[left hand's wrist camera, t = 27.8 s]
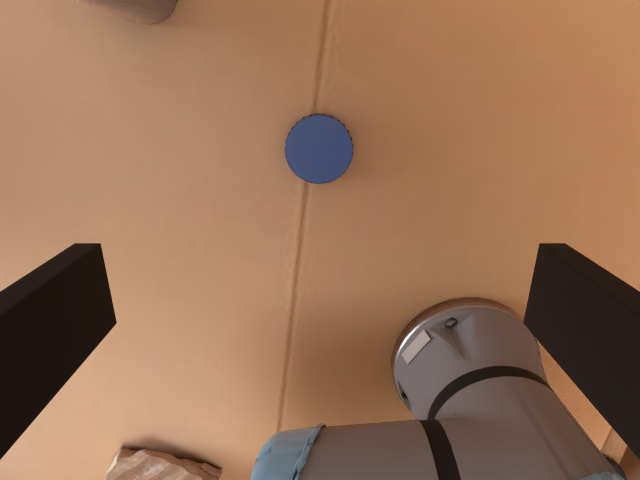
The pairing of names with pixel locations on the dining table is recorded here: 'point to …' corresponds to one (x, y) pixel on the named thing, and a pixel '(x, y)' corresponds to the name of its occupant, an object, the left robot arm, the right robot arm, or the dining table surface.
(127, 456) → the stone
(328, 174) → the lid
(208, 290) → the dining table surface
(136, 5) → the grey tall cylinder
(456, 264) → the dining table surface
